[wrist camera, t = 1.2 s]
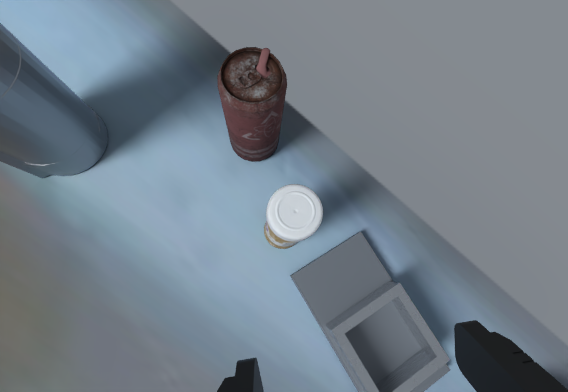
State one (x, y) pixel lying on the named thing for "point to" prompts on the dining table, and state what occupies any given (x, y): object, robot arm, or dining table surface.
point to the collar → (431, 356)
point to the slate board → (347, 292)
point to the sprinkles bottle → (292, 215)
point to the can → (252, 101)
